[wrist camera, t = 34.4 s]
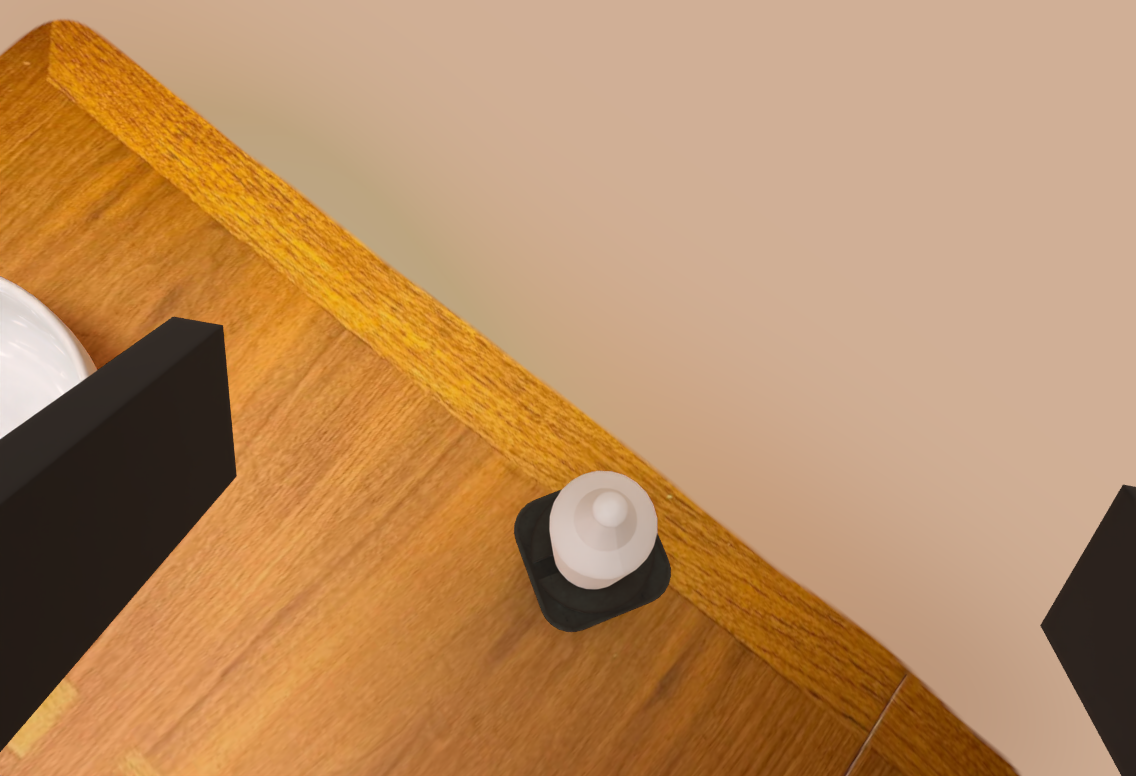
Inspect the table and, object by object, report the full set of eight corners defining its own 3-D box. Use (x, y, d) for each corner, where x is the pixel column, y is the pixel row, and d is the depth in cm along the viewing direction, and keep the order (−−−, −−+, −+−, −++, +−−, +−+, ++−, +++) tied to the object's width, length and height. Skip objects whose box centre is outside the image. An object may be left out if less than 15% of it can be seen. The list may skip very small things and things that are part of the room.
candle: (646, 597, 42) (761, 572, 18) (556, 634, 41) (546, 661, 17) (610, 506, 43) (669, 367, 19) (521, 541, 42) (467, 443, 18)
